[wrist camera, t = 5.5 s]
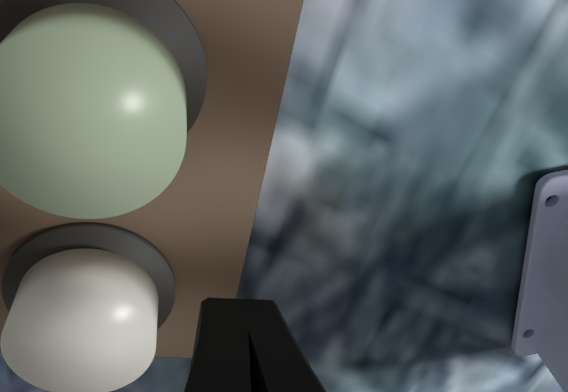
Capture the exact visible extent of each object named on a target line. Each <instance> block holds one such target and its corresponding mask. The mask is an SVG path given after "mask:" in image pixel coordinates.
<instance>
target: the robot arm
mask: <svg viewBox="0 0 568 392" xmlns="http://www.w3.org/2000/svg"><path fill="white" fill-rule="evenodd" d="M550 196H552V197H551V198H550V199H549V200H547V201H546V199H547V198H548V197H550ZM511 347H512V349H513V351H514V352H515V354H516V355H518V356H526V355H531V354H535V353H538V355H539V356H540V358H541V359H542V360H543V362H544V363H545V365H546V366H547V368H548V369H549V371H550V372H551V373H552V375H553V376H554V378H555V379H556V381H557V382H558V384H559V385H560V386H561V388H562V389H563V391H564V392H568V170H563V171H558V172H553V173H549V174H546V175H544V176H543V177H542V178H540V179H539V181H538V182H537V184H536V187H535V192H534V199H533V205H532V212H531V218H530V225H529V232H528V238H527V245H526V251H525V258H524V265H523V271H522V278H521V284H520V291H519V298H518V304H517V311H516V317H515V324H514V331H513V337H512V344H511ZM184 392H326V391H325V389H324V387H323V386H322V384H321V383H320V381H319V380H318V378H317V376H316V375H315V373H314V372H313V370H312V368H311V367H310V365H309V363H308V362H307V360H306V358H305V356H304V355H303V353H302V351H301V349H300V348H299V346H298V344H297V342H296V341H295V339H294V337H293V335H292V333H291V331H290V330H289V328H288V326H287V324H286V322H285V320H284V318H283V316H282V314H281V312H280V310H279V308H278V306H277V305H276V304H275V302H274V301H273V300H253V299H231V298H209V297H208V298H206V299H205V300H203V301H202V302H201V305H200V312H199V318H198V324H197V331H196V337H195V343H194V350H193V356H192V362H191V368H190V374H189V377H188V381H187V384H186V388H185V391H184Z"/></svg>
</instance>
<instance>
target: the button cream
mask: <svg viewBox="0 0 568 392" xmlns="http://www.w3.org/2000/svg"><path fill="white" fill-rule="evenodd" d="M158 300H159V298H158V292H157V289H156V286H155V284H154V282H153V280H152V278H151V277H150V276H149V274H148V273H147V272H146V271H145V270H144V269H143V268H142V267H140V266H139V265H138V264H137V263H135V262H133V261H132V260H130V259H128V258H126V257H124V256H122V255H119V254H116V253H113V252H110V251H105V250H99V249H86V248H82V249H71V250H65V251H61V252H58V253H54V254H52V255H50V256H47V257H45V258H44V259H42V260H40V261H38V262H37V263H36V264H35V265H33V266H32V267H31V268H30V269H29V270H28V271H27V272H26V274H25V275H24V277H23V278H22V280H21V283H20V285H19V288H18V290H17V293H16V296H15V298H14V301H13V304H12V306H11V309H10V312H9V314H8V317H7V320H6V322H5V325H4V328H3V330H2V334H1V338H0V346H1V352H2V355H3V357H4V359H5V361H6V363H7V365H8V366H9V367H10V368H11V369H12V371H13V372H14V373H16V374H17V375H18V376H19V377H20V378H22V379H23V380H25V381H26V382H28V383H30V384H32V385H33V386H36V387H38V388H41V389H43V390H46V391H50V392H110V391H114V390H117V389H119V388H122V387H124V386H126V385H128V384H130V383H131V382H133V381H134V380H136V379H137V378H139V377H140V376H141V375H142V374H143V373H144V372H145V371H146V370H147V369H148V367H149V366H150V364H151V363H152V360H153V358H154V355H155V351H156V337H157V319H158Z"/></svg>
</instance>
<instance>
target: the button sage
mask: <svg viewBox="0 0 568 392" xmlns="http://www.w3.org/2000/svg"><path fill="white" fill-rule="evenodd" d="M186 138H187V107H186V88H185V83H184V79H183V75H182V73H181V70H180V67H179V65H178V63H177V61H176V59H175V57H174V56H173V54H172V53H171V51H170V50H169V48H168V47H167V45H166V44H165V43H164V42H163V41H162V40H161V39H160V38H159V36H158V35H157V34H155V33H154V32H153V31H152V30H151V29H150V28H148V27H147V26H146V25H144V24H143V23H141V22H140V21H138V20H137V19H135V18H133V17H131V16H130V15H128V14H126V13H124V12H121V11H118V10H116V9H113V8H110V7H106V6H102V5H97V4H89V3H67V4H61V5H55V6H52V7H49V8H45V9H43V10H40V11H38V12H36V13H34V14H32V15H30V16H29V17H27V18H26V19H24V20H23V21H22V22H20V23H19V24H18V25H17V26H16V27H15V28H14V29H13V30H12V31H11V32H10V33H9V34H8V35H7V36H6V37H5V38H4V40H3V41H2V42H1V43H0V185H1V186H2V187H3V188H4V189H5V190H7V191H8V192H9V193H11V194H12V195H14V196H15V197H17V198H18V199H20V200H22V201H23V202H25V203H27V204H29V205H31V206H33V207H35V208H37V209H40V210H43V211H46V212H48V213H51V214H55V215H59V216H64V217H70V218H77V219H100V218H108V217H114V216H119V215H122V214H125V213H129V212H131V211H133V210H136V209H138V208H140V207H142V206H144V205H145V204H147V203H149V202H150V201H152V200H153V199H154V198H156V197H157V196H158V195H160V194H161V193H162V192H163V191H164V190H165V189H166V188H167V187H168V185H169V184H170V183H171V181H172V180H173V179H174V177H175V175H176V174H177V172H178V170H179V168H180V166H181V163H182V160H183V158H184V153H185V148H186Z"/></svg>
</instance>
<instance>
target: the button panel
mask: <svg viewBox="0 0 568 392" xmlns="http://www.w3.org/2000/svg"><path fill="white" fill-rule="evenodd" d="M303 1H304V0H0V43H1V42H2V41H3V40H4V38H5V37H6V36H7V35H8V34H9V33H10V32H11V31H12V30H13V29H14V28H15V27H16V26H17V25H18V24H19V23H20V22H22V21H23V20H24V19H26V18H27V17H29V16H30V15H32V14H34V13H36V12H38V11H40V10H43V9H45V8H49V7H52V6H55V5H61V4H67V3H89V4H97V5H102V6H106V7H110V8H113V9H116V10H118V11H121V12H124V13H126V14H128V15H130V16H131V17H133V18H135V19H137V20H138V21H140V22H141V23H143V24H144V25H146V26H147V27H148V28H150V29H151V30H152V31H153V32H154V33H155V34H157V35H158V36H159V38H160V39H161V40H162V41H163V42H164V43H165V44H166V45H167V47H168V48H169V50H170V51H171V53H172V54H173V56H174V57H175V59H176V61H177V63H178V65H179V67H180V70H181V73H182V75H183V79H184V83H185V88H186V107H187V138H186V148H185V153H184V158H183V160H182V163H181V166H180V168H179V170H178V172H177V174H176V175H175V177H174V179H173V180H172V181H171V183H170V184H169V185H168V187H167V188H166V189H165V190H164V191H163V192H162V193H161V194H160V195H158V196H157V197H156V198H154V199H153V200H152V201H150V202H149V203H147V204H145V205H144V206H142V207H140V208H138V209H136V210H133V211H131V212H129V213H125V214H122V215H119V216H114V217H108V218H100V219H77V218H70V217H64V216H59V215H55V214H51V213H48V212H46V211H43V210H40V209H37V208H35V207H33V206H31V205H29V204H27V203H25V202H23V201H22V200H20V199H18V198H17V197H15V196H14V195H12V194H11V193H9V192H8V191H7V190H5V189H4V188H3V187H2V186H1V185H0V338H1V334H2V330H3V328H4V325H5V322H6V320H7V317H8V314H9V312H10V309H11V306H12V304H13V301H14V298H15V296H16V293H17V290H18V288H19V285H20V283H21V280H22V278H23V277H24V275H25V274H26V272H27V271H28V270H29V269H30V268H31V267H32V266H33V265H35V264H36V263H37V262H38V261H40V260H42V259H44V258H45V257H47V256H50V255H52V254H54V253H58V252H61V251H65V250H71V249H82V248H86V249H99V250H105V251H110V252H113V253H116V254H119V255H122V256H124V257H126V258H128V259H130V260H132V261H133V262H135V263H137V264H138V265H139V266H140V267H142V268H143V269H144V270H145V271H146V272H147V273H148V274H149V276H150V277H151V278H152V280H153V282H154V284H155V286H156V289H157V292H158V298H159V300H158V319H157V337H156V351H155V355H154V357H167V358H192V356H193V350H194V343H195V337H196V331H197V324H198V318H199V312H200V305H201V302H202V301H203V300H205V299H206V298H208V297H209V298H231V299H236V297H237V293H238V288H239V284H240V279H241V275H242V270H243V266H244V262H245V257H246V253H247V248H248V244H249V239H250V235H251V231H252V226H253V222H254V217H255V213H256V208H257V204H258V200H259V195H260V191H261V186H262V182H263V178H264V173H265V169H266V164H267V160H268V155H269V151H270V147H271V142H272V138H273V133H274V129H275V124H276V120H277V116H278V111H279V107H280V102H281V98H282V93H283V89H284V85H285V80H286V76H287V71H288V67H289V62H290V58H291V54H292V49H293V45H294V40H295V36H296V32H297V27H298V23H299V18H300V14H301V9H302V5H303ZM0 353H2V352H1V346H0Z"/></svg>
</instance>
